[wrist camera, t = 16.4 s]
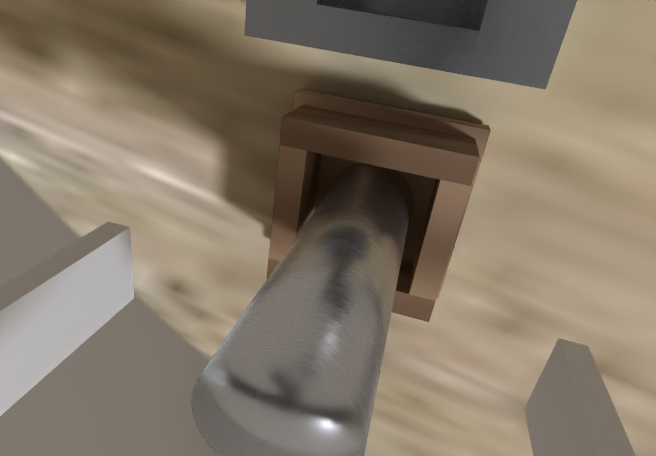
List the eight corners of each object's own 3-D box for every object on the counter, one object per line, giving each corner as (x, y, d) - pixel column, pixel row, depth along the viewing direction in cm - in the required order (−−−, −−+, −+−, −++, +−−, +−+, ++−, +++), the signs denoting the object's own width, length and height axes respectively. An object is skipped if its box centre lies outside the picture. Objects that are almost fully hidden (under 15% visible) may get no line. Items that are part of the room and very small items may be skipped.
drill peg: (338, 153, 22) (192, 332, 9) (420, 171, 21) (382, 387, 9) (326, 227, 23) (190, 458, 11) (402, 245, 23) (348, 512, 10)
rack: (300, 88, 22) (272, 102, 18) (488, 125, 20) (497, 147, 17) (282, 248, 26) (256, 284, 22) (438, 288, 24) (436, 333, 21)
